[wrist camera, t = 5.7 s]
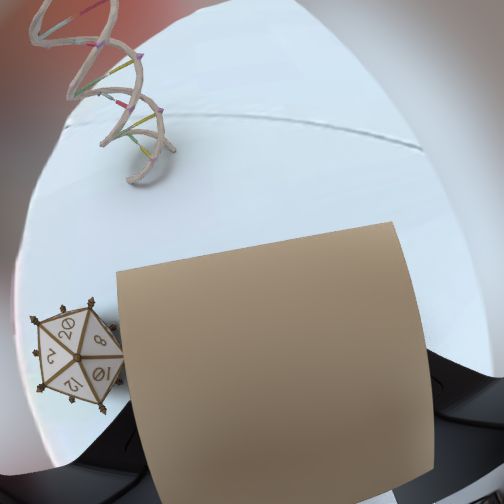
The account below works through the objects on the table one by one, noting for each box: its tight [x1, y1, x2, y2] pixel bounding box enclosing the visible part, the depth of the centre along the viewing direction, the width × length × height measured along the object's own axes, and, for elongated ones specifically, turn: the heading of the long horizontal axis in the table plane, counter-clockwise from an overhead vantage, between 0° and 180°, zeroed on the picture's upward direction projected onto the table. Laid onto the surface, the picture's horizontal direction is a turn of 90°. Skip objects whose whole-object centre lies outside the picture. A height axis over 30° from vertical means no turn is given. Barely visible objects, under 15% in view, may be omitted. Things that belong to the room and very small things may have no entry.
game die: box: [30, 297, 124, 415], centre depth 16 cm, size 9×8×10 cm
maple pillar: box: [116, 222, 434, 504], centre depth 9 cm, size 4×4×12 cm
